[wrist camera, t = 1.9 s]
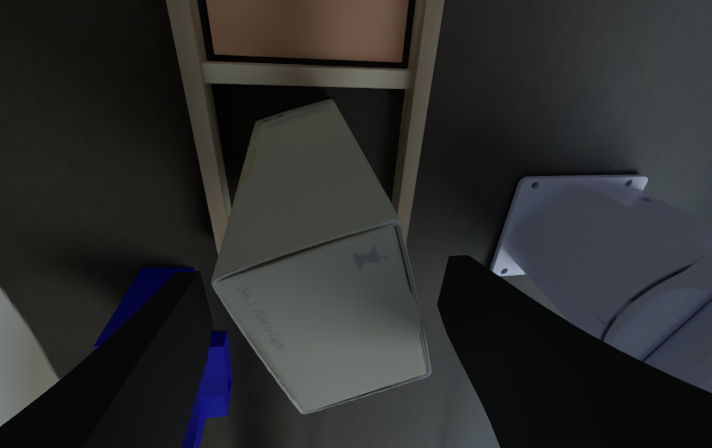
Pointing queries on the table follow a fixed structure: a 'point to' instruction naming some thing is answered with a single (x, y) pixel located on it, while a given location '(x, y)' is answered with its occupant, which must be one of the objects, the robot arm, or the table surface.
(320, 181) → the skincare box
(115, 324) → the cable clip
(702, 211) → the table surface
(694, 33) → the table surface
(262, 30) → the pink framed panel
